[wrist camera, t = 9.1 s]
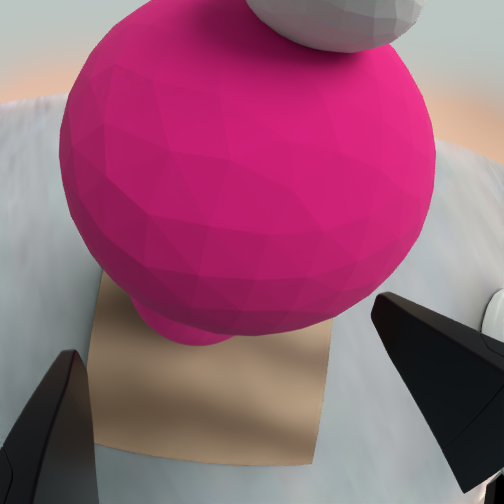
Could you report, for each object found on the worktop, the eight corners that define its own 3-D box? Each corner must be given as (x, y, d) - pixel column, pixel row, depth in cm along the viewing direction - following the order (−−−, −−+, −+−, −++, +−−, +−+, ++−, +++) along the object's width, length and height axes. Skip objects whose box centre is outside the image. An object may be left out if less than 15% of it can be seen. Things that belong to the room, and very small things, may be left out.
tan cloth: (305, 458, 20) (311, 464, 18) (86, 434, 16) (81, 439, 15) (331, 232, 25) (338, 228, 24) (129, 189, 22) (127, 182, 20)
